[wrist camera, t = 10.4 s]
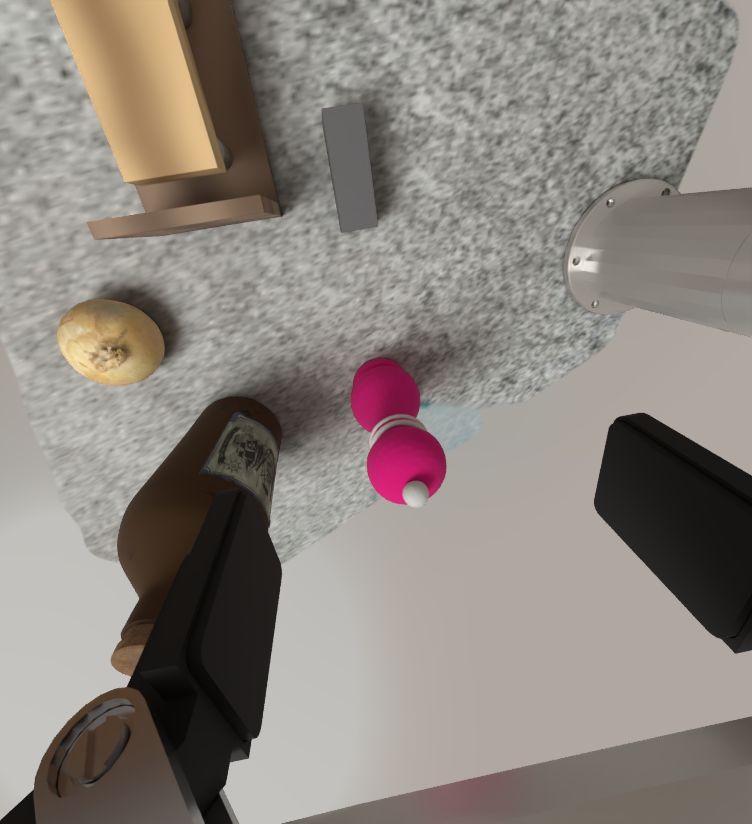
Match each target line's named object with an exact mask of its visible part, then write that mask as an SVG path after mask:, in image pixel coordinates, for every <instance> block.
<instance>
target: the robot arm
mask: <svg viewBox="0 0 752 824" xmlns="http://www.w3.org/2000/svg"><path fill="white" fill-rule="evenodd" d="M563 268H564V280H565V284H566V288H567V290H568V292H569V294H570V296H571V297H572V299H573V300H574V301H575V302H576V303H577V304H578V305H579V306H581V307H582V308H584V309H586V310H589V311H591V312H595V313H599V314H617V313H622V312H625V311H627V310H630V309H633V308H634V307H637V308H640V309H644V310H648V311H652V312H656V313H660V314H663V315H667V316H671V317H675V318H679V319H682V320H686V321H690V322H693V323H697V324H701V325H705V326H709V327H713V328H717V329H720V330H724V331H727V332H732V333H736V334H740V335H744V336H748V337H751V338H752V188H742V189H731V190H722V191H721V190H720V191H710V192H699V193H688V194H680V193H679V191H678V190H677V189H676V188H675V187H674V186H672V185H671V184H669V183H667V182H665V181H663V180H658V179H653V178H651V179H638V180H633V181H628V182H625V183H623V184H620V185H618V186H616V187H614V188H612V189H611V190H609V191H607V192H606V193H604V194H603V195H602V196H601V197H599V198H598V199H597V200H596V201H595V202H594V203H593V204H592V205H591V206H590V207H589V208H588V209H587V210H586V212H585V213H584V214H583V215H582V217H581V218H580V220H579V221H578V223H577V224H576V226H575V228H574V230H573V232H572V234H571V236H570V239H569V242H568V245H567V248H566V251H565V257H564V264H563ZM594 506H595V509H596V511H597V513H598V514H599V515H600V516H601V517H602V518H603V520H604V521H605V522H606V523H607V524H608V525H609V526H610V527H611V528H612V529H613V530H614V531H615V532H616V533H617V534H618V536H619V537H620V538H621V539H622V540H623V541H624V542H625V543H626V544H627V545H628V546H629V547H630V548H631V549H632V551H633V552H634V553H635V554H636V555H637V556H638V557H639V558H640V559H641V560H642V561H643V562H644V563H645V564H646V565H647V567H648V568H649V569H650V570H651V571H652V572H653V573H654V574H655V575H656V576H657V577H658V578H659V579H660V580H661V581H662V583H663V584H664V585H665V586H666V587H667V588H668V589H669V590H670V591H671V592H672V593H673V594H674V595H675V596H676V598H677V599H678V600H679V601H680V602H681V603H682V604H683V605H684V606H685V607H686V608H687V609H688V610H689V611H690V613H692V615H693V616H694V617H695V618H696V619H697V620H698V621H699V622H700V623H701V624H702V625H703V626H704V627H705V629H706V630H707V631H709V632H710V633H711V634H712V635H714V636H715V637H717V638H720V639H722V640H723V641H724V642H725V643H726V644H727V645H728V646H729V647H730V648H731V649H732V650H733V652H734V653H741V652H745V651H750V650H752V476H751V475H749V474H748V473H746V472H744V471H743V470H741V469H739V468H738V467H736V466H734V465H733V464H731V463H729V462H728V461H726V460H724V459H722V458H721V457H719V456H717V455H716V454H714V453H712V452H711V451H709V450H707V449H705V448H704V447H702V446H700V445H699V444H697V443H695V442H694V441H692V440H690V439H689V438H687V437H685V436H683V435H682V434H680V433H678V432H677V431H675V430H673V429H672V428H670V427H668V426H666V425H665V424H663V423H661V422H660V421H658V420H656V419H655V418H653V417H651V416H650V415H648V414H645V413H637V414H631V415H626V416H620V417H618V418H616V420H615V421H614V423H613V424H611V426H610V427H609V430H608V435H607V440H606V445H605V450H604V455H603V459H602V464H601V469H600V474H599V479H598V484H597V489H596V493H595V498H594ZM281 577H282V569H281V563H280V560H279V558H278V556H277V553H276V551H275V548H274V546H273V543H272V541H271V538H270V536H269V533H268V531H267V528H266V526H265V524H264V521H263V519H262V516H261V514H260V511H259V509H258V506H257V504H256V501H255V499H254V496H253V494H252V493H251V492H246V493H245V491H244V490H243V489H242V488H236V489H231V490H225V491H220V492H217V493H216V495H215V496H214V499H213V501H212V503H211V506H210V508H209V510H208V513H207V515H206V517H205V520H204V522H203V524H202V527H201V529H200V532H199V534H198V536H197V539H196V541H195V543H194V546H193V548H192V550H191V552H190V553H188V554H187V555H186V556H185V558H184V559H183V561H182V563H181V565H180V567H179V570H178V572H177V574H176V576H175V579H174V581H173V583H172V586H171V588H170V590H169V592H168V595H167V597H166V599H165V601H164V604H163V606H162V608H161V610H160V613H159V615H158V617H157V620H156V622H155V624H154V626H153V629H152V631H151V633H150V635H149V638H148V640H147V642H146V645H145V647H144V649H143V651H142V654H141V656H140V658H139V660H138V663H137V665H136V667H135V670H134V672H133V674H132V676H131V679H130V681H129V683H128V685H127V687H125V688H117V689H113V690H111V691H109V692H106V693H104V694H102V695H100V696H98V697H97V698H95V699H94V700H93V701H91V702H89V703H88V704H86V705H85V706H84V707H83V708H82V709H80V710H79V711H78V712H77V713H76V714H75V715H74V716H73V717H72V718H71V719H70V720H69V721H68V722H67V723H66V724H65V726H64V727H63V728H62V729H61V730H60V732H59V733H58V734H57V735H56V737H55V738H54V739H53V741H52V743H51V744H50V746H49V748H48V749H47V751H46V753H45V754H44V756H43V758H42V760H41V763H40V766H39V769H38V771H37V774H36V777H35V783H34V790H33V791H32V792H31V793H29V794H28V795H27V796H26V797H25V798H24V799H23V800H22V801H21V802H20V803H19V804H18V805H16V806H15V807H14V808H13V809H12V810H11V811H10V812H9V813H8V814H7V815H6V816H5V817H3V818H2V819H1V820H0V824H239V822H238V820H237V818H236V816H235V814H234V812H233V809H232V807H231V805H230V803H229V801H228V799H227V797H226V795H225V792H224V790H223V787H224V786H225V785H226V780H227V775H228V769H229V764H230V762H233V761H239V760H243V759H248V758H249V753H250V747H251V740H252V739H254V738H257V737H258V735H259V733H260V730H261V725H262V718H263V710H264V703H265V696H266V688H267V681H268V674H269V665H270V659H271V652H272V644H273V637H274V630H275V622H276V614H277V608H278V600H279V593H280V586H281ZM282 824H752V717H747V718H742V719H738V720H733V721H729V722H724V723H719V724H715V725H710V726H705V727H701V728H697V729H692V730H687V731H683V732H678V733H674V734H669V735H665V736H660V737H656V738H651V739H647V740H643V741H638V742H633V743H628V744H624V745H619V746H615V747H610V748H606V749H601V750H597V751H592V752H588V753H583V754H580V755H575V756H570V757H565V758H561V759H557V760H552V761H548V762H543V763H539V764H534V765H530V766H525V767H521V768H516V769H512V770H507V771H503V772H499V773H494V774H490V775H486V776H481V777H477V778H473V779H468V780H464V781H459V782H455V783H450V784H446V785H441V786H437V787H433V788H429V789H424V790H420V791H415V792H411V793H406V794H402V795H398V796H393V797H389V798H385V799H380V800H376V801H372V802H367V803H362V804H358V805H354V806H351V807H346V808H342V809H338V810H334V811H330V812H326V813H322V814H318V815H314V816H310V817H306V818H303V819H298V820H294V821H290V822H286V823H282Z"/></svg>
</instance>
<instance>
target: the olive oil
mask: <svg viewBox="0 0 752 824" xmlns="http://www.w3.org/2000/svg"><path fill="white" fill-rule="evenodd" d="M280 443H281V429H280V425H279V423H278V420H277V419H276V417H275V416H274V414H273V413H272V412H271V411H270V410H269V409H268V408H266V407H265V406H263V405H262V404H260V403H258V402H256V401H253V400H250V399H247V398H240V397H230V398H225V399H221V400H218V401H216V402H214V403H212V404H211V405H209V406H208V407H207V408H206V409H205V410H204V411H203V412H202V414H201V415H200V416H199V418H198V419H197V420H196V421H195V423H194V424H193V425H192V427H191V428H190V429H189V431H188V432H187V433H186V435H185V436H184V437H183V438H182V440H181V441H180V442H179V443H178V444H177V446H176V447H175V448H174V449H173V451H172V452H171V453H170V454H169V456H168V457H167V458H166V459H165V460H164V462H163V463H162V464H161V465H160V466H159V468H158V469H157V470H156V471H155V472H154V474H153V475H152V476H151V477H150V478H149V480H148V481H147V482H146V483H145V484H144V486H143V487H142V488H141V489H140V490H139V492H138V493H137V494H136V495H135V497H134V498H133V499H132V501H131V502H130V504H129V505H128V507H127V509H126V511H125V513H124V516H123V519H122V522H121V525H120V529H119V534H118V541H117V550H118V557H119V561H120V564H121V566H122V568H123V570H124V572H125V574H126V576H127V577H128V579H129V581H130V582H131V584H132V586H133V588H134V589H135V591H136V593H137V594H138V596H139V601H138V603H137V604H136V606H135V608H134V610H133V611H132V613H131V615H130V617H129V619H128V621H127V623H126V625H125V626H124V628H123V630H122V632H121V639H122V640H121V641H120V642H119V643H118V645H117V647H116V649H115V650H114V652H113V655H112V657H111V664H112V666H113V667H114V668H115V669H116V670H118V671H119V672H121V673H123V674H125V675H128V676H132V674H133V672H134V670H135V667H136V665H137V663H138V660H139V658H140V656H141V654H142V651H143V649H144V647H145V645H146V642H147V640H148V638H149V635H150V633H151V631H152V629H153V626H154V624H155V622H156V620H157V617H158V615H159V613H160V610H161V608H162V606H163V604H164V601H165V599H166V597H167V595H168V592H169V590H170V588H171V586H172V583H173V581H174V579H175V576H176V574H177V572H178V570H179V567H180V565H181V563H182V561H183V559H184V558H185V556H186V555H187V554H188V553H190V552H191V550H192V548H193V546H194V543H195V541H196V539H197V536H198V534H199V532H200V529H201V527H202V524H203V522H204V520H205V517H206V515H207V513H208V510H209V508H210V506H211V503H212V501H213V499H214V496H215V495H216V493H217V492H220V491H225V490H231V489H236V488H242V489H243V490H244V491H245V493H246V492H251V493H252V494H253V496H254V499H255V501H256V504H257V506H258V509H259V511H260V514H261V516H262V519H263V521H264V524H265V526H266V528H267V531H268V528H270V513H271V505H272V497H273V489H274V482H275V475H276V467H277V461H278V455H279V449H280Z"/></svg>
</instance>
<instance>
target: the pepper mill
mask: <svg viewBox="0 0 752 824" xmlns="http://www.w3.org/2000/svg"><path fill="white" fill-rule="evenodd" d="M351 407H352V410H353V413H354V416H355V418H356V419H357V421H358V422H359V424H360V425H361V426H362V427H363V428H364V429H366V430H367V431H369V432H371V434H370V438H369V447H370V452H369V454H368V457H367V472H368V476H369V479H370V481H371V483H372V486H373V487H374V489H375V490H376V491H377V492H378V493H379V494H380V495H381V496H382V497H384V498H385V499H386V500H389V501H391V502H393V503H397V504H405V505H410V506H412V507H420V506H423V505H424V504H425V503H426V502H427V500H428V498H430V497H431V496H432V495H433V494H434V493H435V492H436V491H437V490H438V489H439V488H440V486H441V484H442V482H443V480H444V478H445V474H446V458H445V454H444V451H443V448H442V447H441V445H440V443H439V442H438V441H437V439H436V438H435V437H434V436H432V435H431V434H430V433H429V432H427V431H426V428H425V426H424V425H423V424H422V423H421V422H420V421H419V420H418V419H416V417H417V415H418V412H419V407H420V394H419V390H418V388H417V385H416V383H415V381H414V380H413V378H412V377H411V376H410V375H409V374H408V373H406V372H405V371H404V370H403V369H402V367H401V366H400V365H399V364H397V363H396V362H394V361H392V360H389V359H385V358H378V359H373V360H370V361H368V362H366V363H365V364H363V365H362V366H361V367H360V368H359V369H358V371H357V372H356V374H355V376H354V380H353V389H352V393H351Z"/></svg>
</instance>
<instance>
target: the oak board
mask: <svg viewBox="0 0 752 824" xmlns="http://www.w3.org/2000/svg"><path fill="white" fill-rule="evenodd" d="M50 1H51V4H52V6H53V8H54V11H55V13H56V16H57V18H58V21H59V23H60V25H61V28H62V30H63V33H64V35H65V38H66V40H67V42H68V45H69V47H70V50H71V52H72V55H73V57H74V60H75V62H76V64H77V67H78V69H79V72H80V74H81V77H82V79H83V81H84V84H85V86H86V89H87V91H88V94H89V96H90V98H91V101H92V103H93V106H94V108H95V111H96V113H97V115H98V118H99V120H100V123H101V125H102V128H103V130H104V132H105V135H106V137H107V140H108V142H109V145H110V147H111V149H112V152H113V154H114V157H115V159H116V162H117V164H118V166H119V169H120V171H121V174H122V176H123V179H124V181H125V183H130V184H134V185H139V186H147V185H153V184H159V183H165V182H172V181H178V180H184V179H190V178H197V177H203V176H209V175H215V174H221V173H227V171H226V168H225V164H224V161H223V157H222V154H221V151H220V147H219V144H218V140H217V137H216V133H215V130H214V127H213V123H212V120H211V116H210V113H209V109H208V106H207V103H206V99H205V96H204V92H203V89H202V85H201V82H200V79H199V75H198V72H197V68H196V65H195V61H194V58H193V54H192V51H191V48H190V44H189V41H188V37H187V34H186V30H185V27H184V24H183V20H182V17H181V13H180V10H179V6H178V3H177V0H50Z"/></svg>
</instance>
